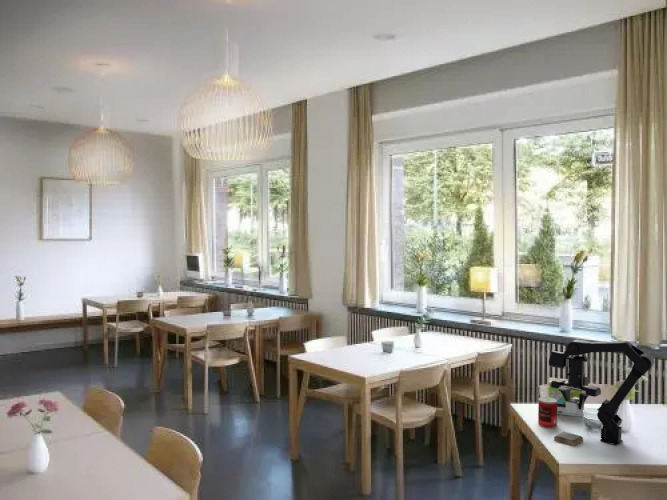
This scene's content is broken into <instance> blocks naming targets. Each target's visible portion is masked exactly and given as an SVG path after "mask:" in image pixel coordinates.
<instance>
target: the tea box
mask: <svg viewBox="0 0 667 500" xmlns="http://www.w3.org/2000/svg"><path fill="white" fill-rule="evenodd" d="M555 379H561V380H565V381H566V383H568V378H559V377H548V378H547V380H548V381H547V394H546V395H547V396H546V397H551V398H554V399H556V400H557V415H562V416H563V415H564V416H571V417H572V416H573V417H579V418H584V412H583V411H581V412H579V413H577V414H576V413H572V412H568V411H566V401H565V399H564V397H563V395H562V393H561V391H559V389H560V387H559V388H558V389H557V388H552V387H551V381H553V380H555ZM571 387H572V386H571ZM583 387H586V385H585V386H583ZM581 393H582V391H579V390H574V389H571V392H570V398H574V397H576V398H579V394H581Z"/></svg>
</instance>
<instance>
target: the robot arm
mask: <svg viewBox="0 0 667 500" xmlns="http://www.w3.org/2000/svg"><path fill="white" fill-rule="evenodd" d="M590 353H623V354H624V355H625V356H626V357H627V358H628V360H630V361H631V362H632V363H633V365H632V367H631V370H630V373H629V374H628V376H627V377H626V378H625V379H624V381H623V382H622V383H621V385H620V386H619V388H618V389H617V391H616V392H615V394H614V395H613V396H612V397H611V399H610V400H608V399H607V398H606V399H604V400H603V401H602V402H601V405H600V406H599V407H598V408H597V409H596V411H597V413H596V416H597V419H598V420H599V422H600V423H601V426H602V427H601V428H600V440H599V441H600V442H603V443H605V444H606V443H607V444H610V445H614V446H618V445H620V444H622V443H623V439H622V430H623V429H622V426H621V424H622V422H623V419H622V417H620V415H618V412H619V410H620V407H621V405H622V403H623V402H624V400H625V399H626V398H627V396H628V395H629V394H630V392H631V391H632V390H633V388H634V387H635V386H636V384H637V383H638V382H639V380H640V379H641V378H642V377H643V376H644V375H645V374H646V373H648V372H649V371H650V370H651V368H653V367H654V365H655V362H656V361H655V358H654V357H653V356H652V355H651V354H649V353H645V352H644V351H643V350H641V349H640V348H638V347H637V346H635V345H633V343H631V342H630V341H629V340H628V341H627V340H625V341H597V342H596V341H589V340H585V339H574V340H572V341H570V342H569V343H568V345H567V349H566V350H565V351H564V352H561V351H556V350H551V351H550V355H549V358H548V366H549V367H551V368H557V369H564V370H565V369H566V368H567V367H568V370H567V371H568V372H567V373H566V376H567V379H568V383H566V381H565V380H561V379H562V378H560V379H555V380H553V381H551V387H552V388H557V389H558V388H559V387H560V389H559V391H561V393H562V395H563V397H564V399H565V401H568V400H570V392H571V389H574V390H579V391H582V393H581V394H579V408H580V410H581V409H582V407H583V405H584V406H585V403H586V400H587V398H589V397H593V398H594V397H598V396H600V395H602V389H601V387H600V386H594V385H590V386H589V383H590V378H589V377H587V376H586V374H585V372H584V366H585V365H584V364H585V363H586V362H589V361H590V359H589V358H588V357H587V356H586V354H590ZM571 386H572V387H571ZM583 386H585V387H583Z"/></svg>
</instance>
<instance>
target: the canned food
mask: <svg viewBox="0 0 667 500" xmlns="http://www.w3.org/2000/svg"><path fill="white" fill-rule="evenodd" d="M537 409H538V413H537V414H538V419H537V423H538V425H539V426H541V427H544V428H551V429H552V428H556V427H557V425H558V414H557V400H556V399H554V398H551V397H547V396H541V397H539V398H538V408H537Z"/></svg>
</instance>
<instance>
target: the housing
mask: <svg viewBox="0 0 667 500" xmlns="http://www.w3.org/2000/svg"><path fill="white" fill-rule="evenodd" d="M583 410H584V411H585V404H584V405H583V407H582V409H581V410H580V408H579V398H576V397H574V398H570V400H568V401H566V411H568V412H572V413H576V414H577V413H579V412H581V411H583Z"/></svg>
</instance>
